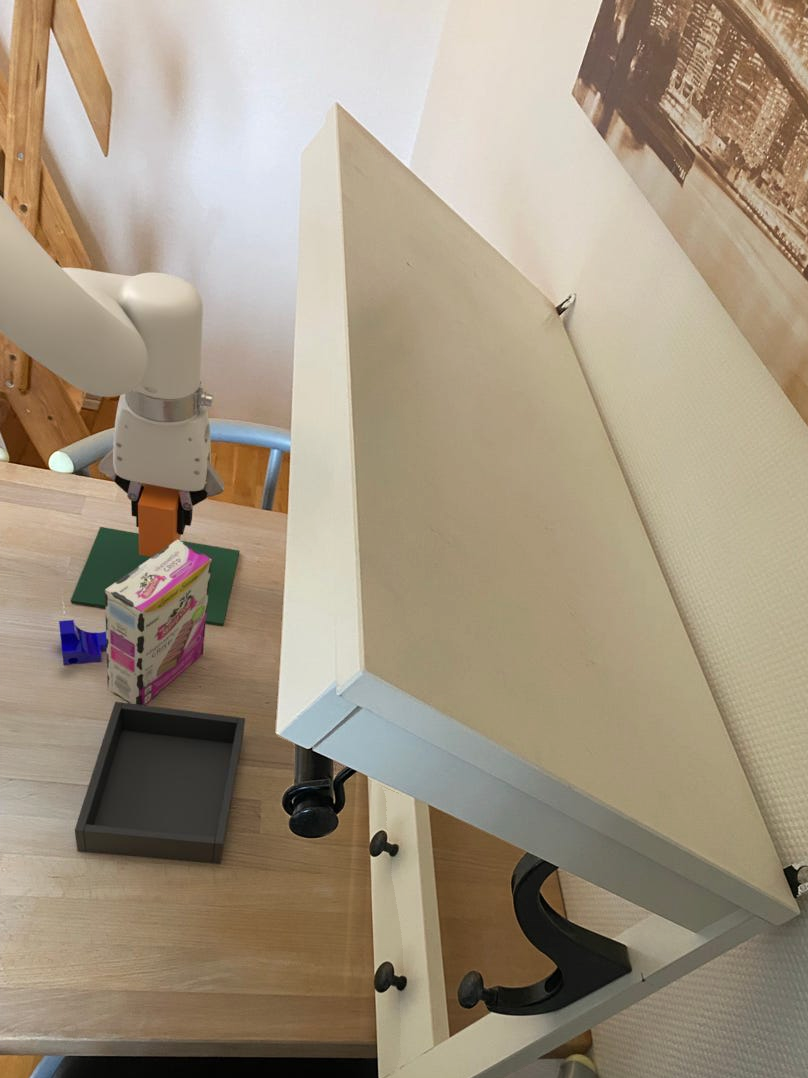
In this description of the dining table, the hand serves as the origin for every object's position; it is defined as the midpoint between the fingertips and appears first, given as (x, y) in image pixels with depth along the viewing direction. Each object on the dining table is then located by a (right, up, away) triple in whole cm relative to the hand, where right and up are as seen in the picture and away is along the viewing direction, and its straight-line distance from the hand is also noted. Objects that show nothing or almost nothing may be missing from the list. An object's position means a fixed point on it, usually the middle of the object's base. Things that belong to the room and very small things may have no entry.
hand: (162, 522), depth 104 cm
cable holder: (-6, -16, -4) cm, 17 cm away
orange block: (-1, -2, +2) cm, 3 cm away
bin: (+6, -31, -14) cm, 34 cm away
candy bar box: (+1, -18, -4) cm, 19 cm away
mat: (-3, -6, +6) cm, 9 cm away
